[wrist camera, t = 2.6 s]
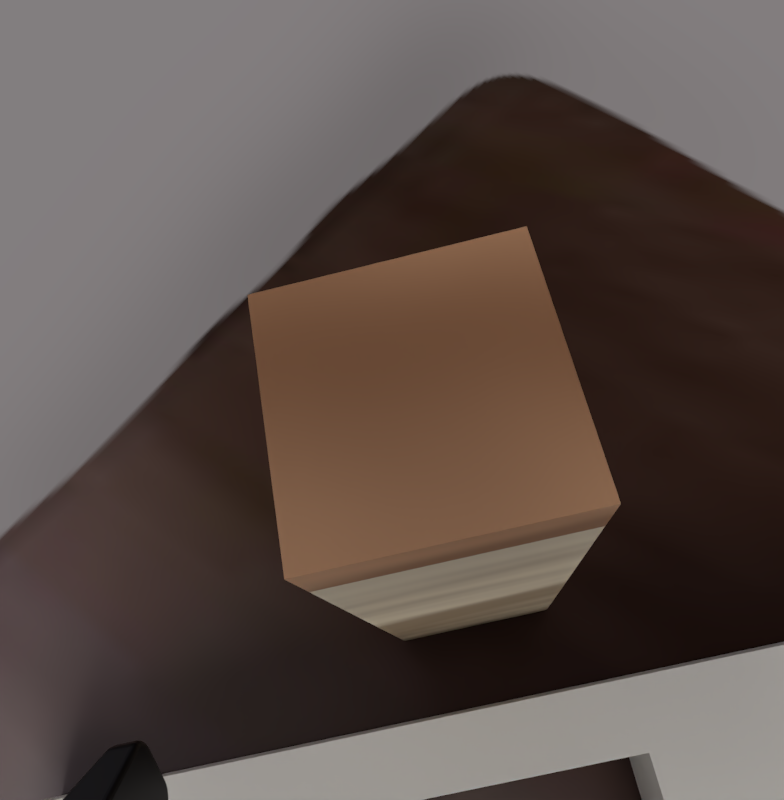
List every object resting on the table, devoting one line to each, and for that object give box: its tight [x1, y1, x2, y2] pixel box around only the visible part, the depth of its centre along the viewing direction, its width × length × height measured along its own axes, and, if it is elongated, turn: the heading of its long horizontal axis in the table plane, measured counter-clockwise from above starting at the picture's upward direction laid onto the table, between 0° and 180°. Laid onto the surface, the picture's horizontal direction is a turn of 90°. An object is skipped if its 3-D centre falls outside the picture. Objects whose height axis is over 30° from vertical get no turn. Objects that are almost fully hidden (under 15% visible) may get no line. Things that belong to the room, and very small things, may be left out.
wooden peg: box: [248, 226, 621, 641], centre depth 14 cm, size 4×4×12 cm
